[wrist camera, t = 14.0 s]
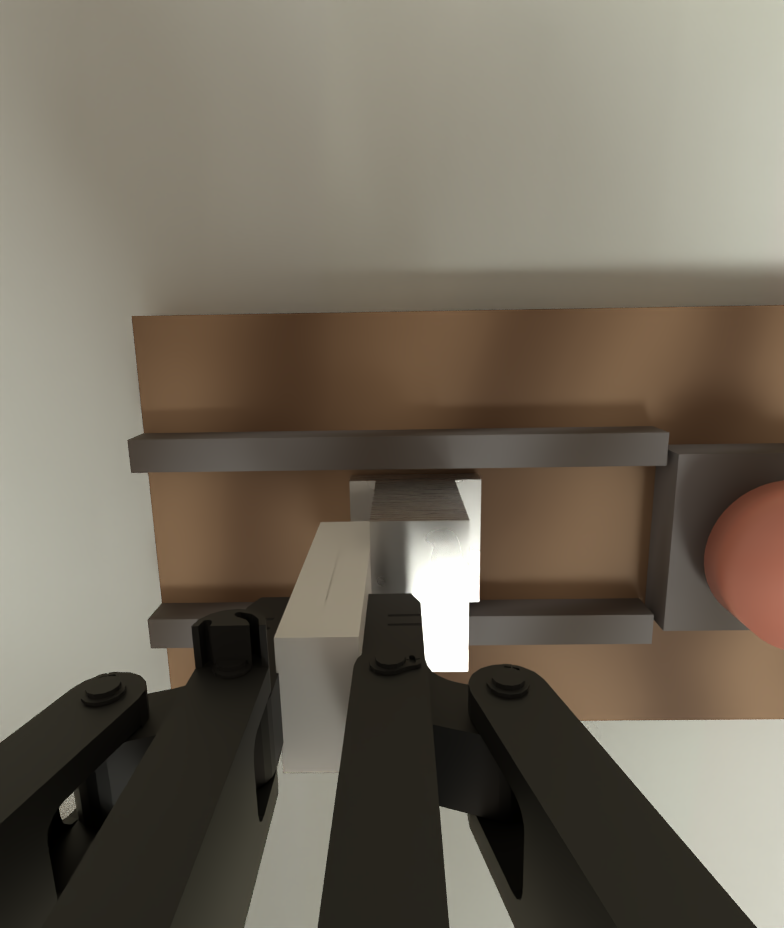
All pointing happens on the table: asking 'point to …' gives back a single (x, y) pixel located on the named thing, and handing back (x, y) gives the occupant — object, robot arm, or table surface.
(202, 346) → the control board
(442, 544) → the slide knob
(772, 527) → the push button
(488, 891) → the table surface
